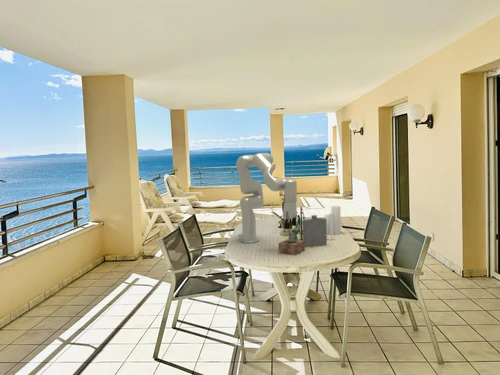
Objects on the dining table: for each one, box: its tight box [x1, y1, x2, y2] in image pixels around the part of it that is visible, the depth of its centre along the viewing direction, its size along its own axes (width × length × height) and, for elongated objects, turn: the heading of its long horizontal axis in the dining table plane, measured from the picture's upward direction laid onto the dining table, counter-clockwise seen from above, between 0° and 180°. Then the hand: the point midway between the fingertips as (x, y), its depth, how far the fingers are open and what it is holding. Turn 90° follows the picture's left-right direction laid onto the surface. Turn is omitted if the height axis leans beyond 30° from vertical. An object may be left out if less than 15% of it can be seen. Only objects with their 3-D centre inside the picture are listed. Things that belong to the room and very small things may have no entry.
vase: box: [324, 205, 342, 236], centre depth 289 cm, size 11×7×20 cm, turn 90°
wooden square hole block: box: [278, 238, 306, 256], centre depth 244 cm, size 12×12×6 cm
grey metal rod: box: [288, 231, 295, 243], centre depth 244 cm, size 3×3×12 cm
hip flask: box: [302, 214, 328, 248], centre depth 257 cm, size 16×4×20 cm, turn 100°
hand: (290, 227), depth 243 cm, fingers open, 9 cm apart
